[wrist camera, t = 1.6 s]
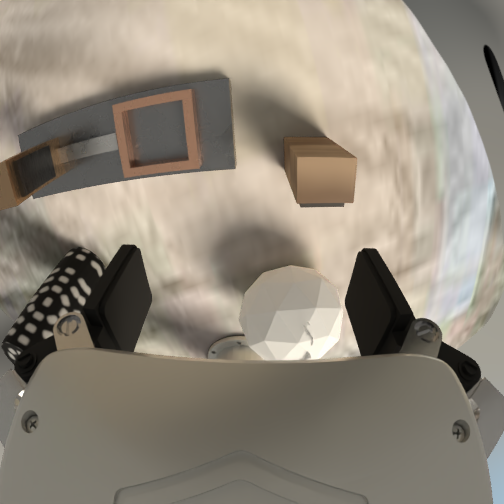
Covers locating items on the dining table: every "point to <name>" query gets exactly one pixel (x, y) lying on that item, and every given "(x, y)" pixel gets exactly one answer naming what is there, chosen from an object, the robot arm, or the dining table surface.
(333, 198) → the gripped brown wooden block
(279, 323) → the geodesic sphere
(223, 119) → the rail
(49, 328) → the white-spotted black cylinder
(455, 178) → the dining table surface
